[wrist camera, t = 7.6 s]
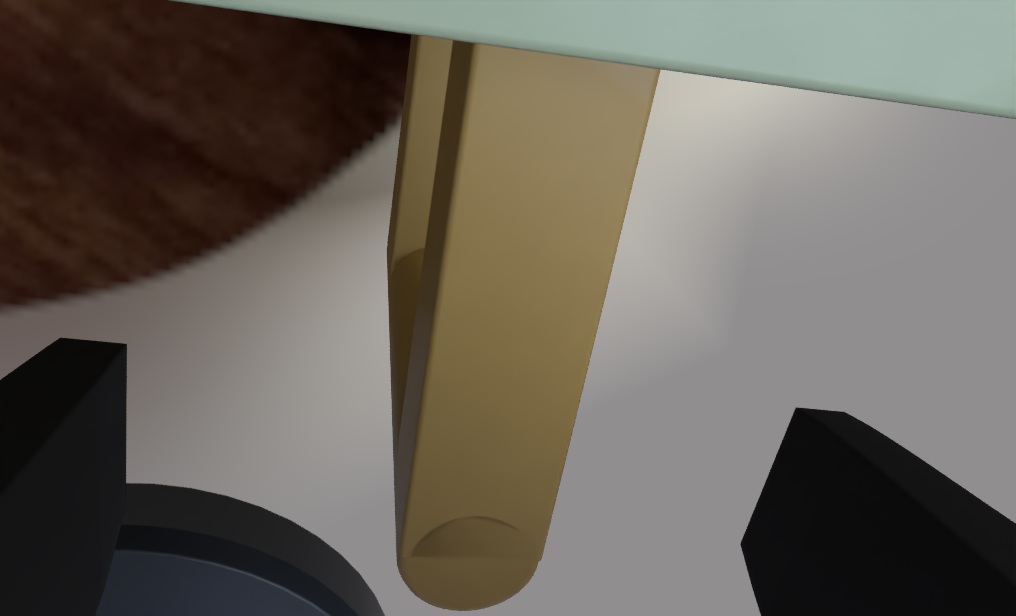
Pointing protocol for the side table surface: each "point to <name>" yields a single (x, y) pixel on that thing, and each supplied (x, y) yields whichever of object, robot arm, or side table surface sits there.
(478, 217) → the door
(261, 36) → the side table surface
